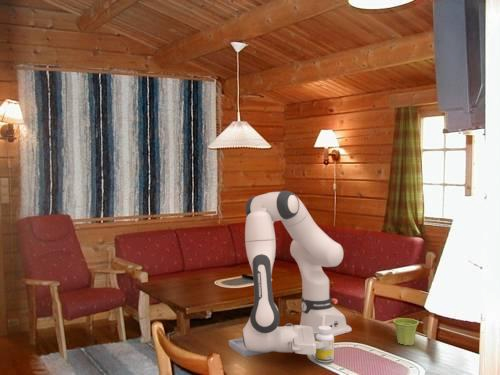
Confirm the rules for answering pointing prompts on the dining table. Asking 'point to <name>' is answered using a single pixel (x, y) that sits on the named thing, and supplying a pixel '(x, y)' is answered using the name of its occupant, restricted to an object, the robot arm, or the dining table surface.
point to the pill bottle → (326, 352)
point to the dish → (242, 348)
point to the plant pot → (405, 330)
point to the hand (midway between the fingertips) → (327, 340)
